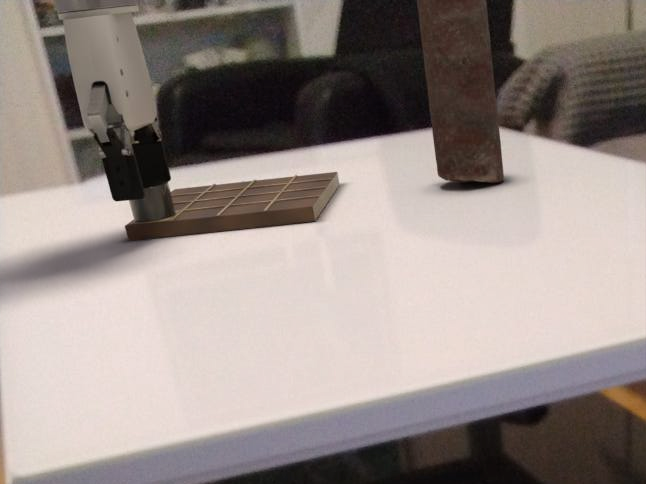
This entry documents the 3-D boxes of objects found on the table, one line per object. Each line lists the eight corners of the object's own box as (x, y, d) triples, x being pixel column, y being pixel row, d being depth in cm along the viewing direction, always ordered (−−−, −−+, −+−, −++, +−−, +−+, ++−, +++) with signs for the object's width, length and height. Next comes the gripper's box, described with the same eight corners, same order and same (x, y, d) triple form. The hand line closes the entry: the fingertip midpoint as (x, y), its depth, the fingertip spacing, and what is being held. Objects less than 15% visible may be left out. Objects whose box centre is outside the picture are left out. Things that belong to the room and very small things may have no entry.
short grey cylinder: (129, 223, 107) (119, 190, 105) (141, 214, 110) (132, 182, 109) (170, 219, 106) (161, 186, 105) (180, 210, 110) (172, 178, 108)
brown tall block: (454, 193, 111) (431, -25, 100) (426, 185, 116) (401, -22, 105) (515, 181, 113) (500, -34, 102) (485, 174, 119) (467, -31, 108)
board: (128, 240, 107) (123, 224, 106) (177, 202, 124) (173, 188, 123) (315, 221, 106) (312, 205, 105) (339, 185, 123) (337, 170, 122)
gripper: (87, 0, 105) (133, 180, 114) (21, 5, 90) (80, 210, 100) (158, -8, 104) (199, 173, 114) (104, -4, 90) (155, 203, 99)
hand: (143, 190), depth 107 cm, fingers open, 9 cm apart
